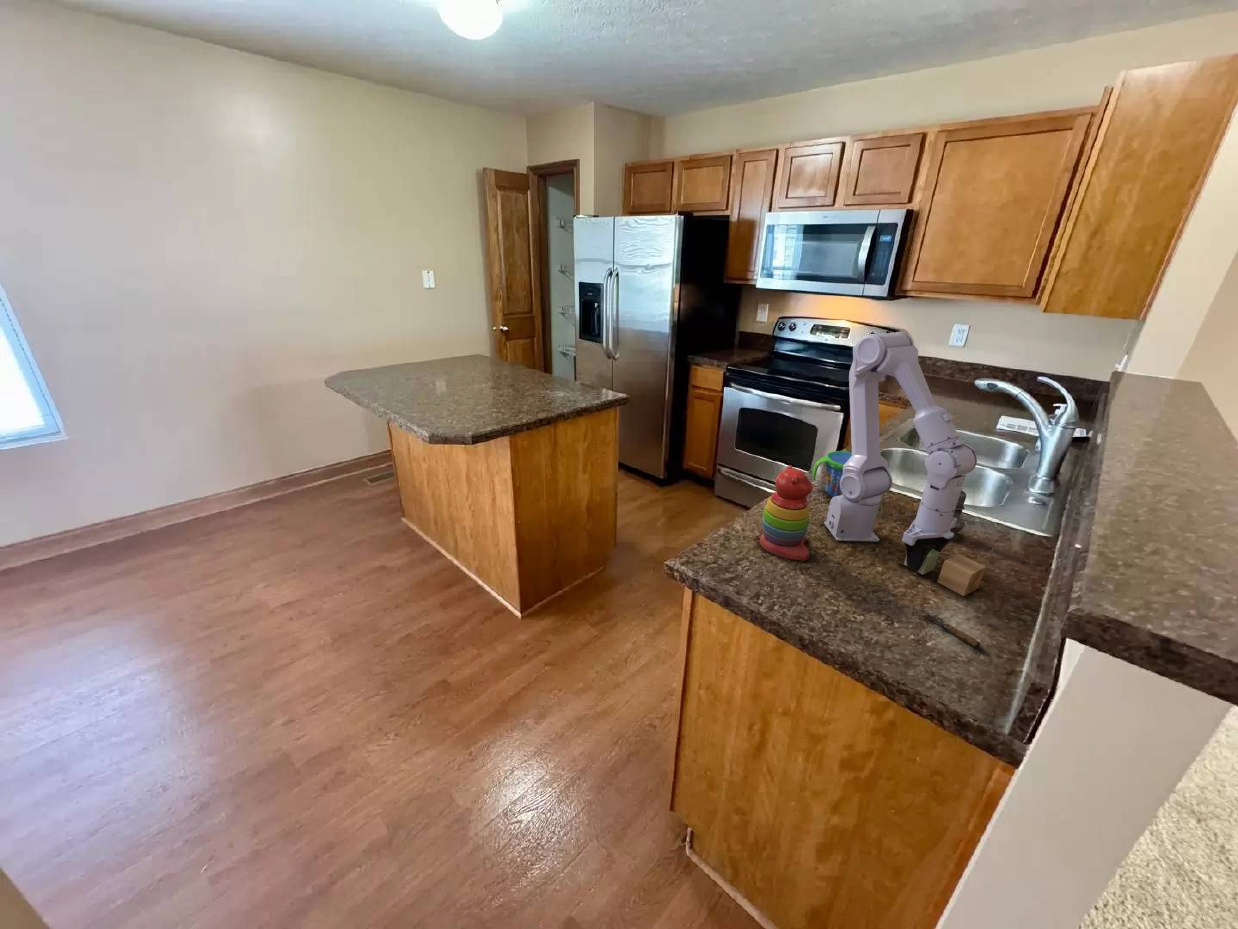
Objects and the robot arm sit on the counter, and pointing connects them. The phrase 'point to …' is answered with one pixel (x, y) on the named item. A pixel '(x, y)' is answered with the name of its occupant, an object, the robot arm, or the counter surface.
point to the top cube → (927, 562)
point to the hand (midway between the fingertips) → (919, 565)
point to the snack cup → (833, 470)
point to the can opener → (955, 631)
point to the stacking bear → (787, 516)
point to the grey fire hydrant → (958, 516)
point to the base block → (961, 574)
